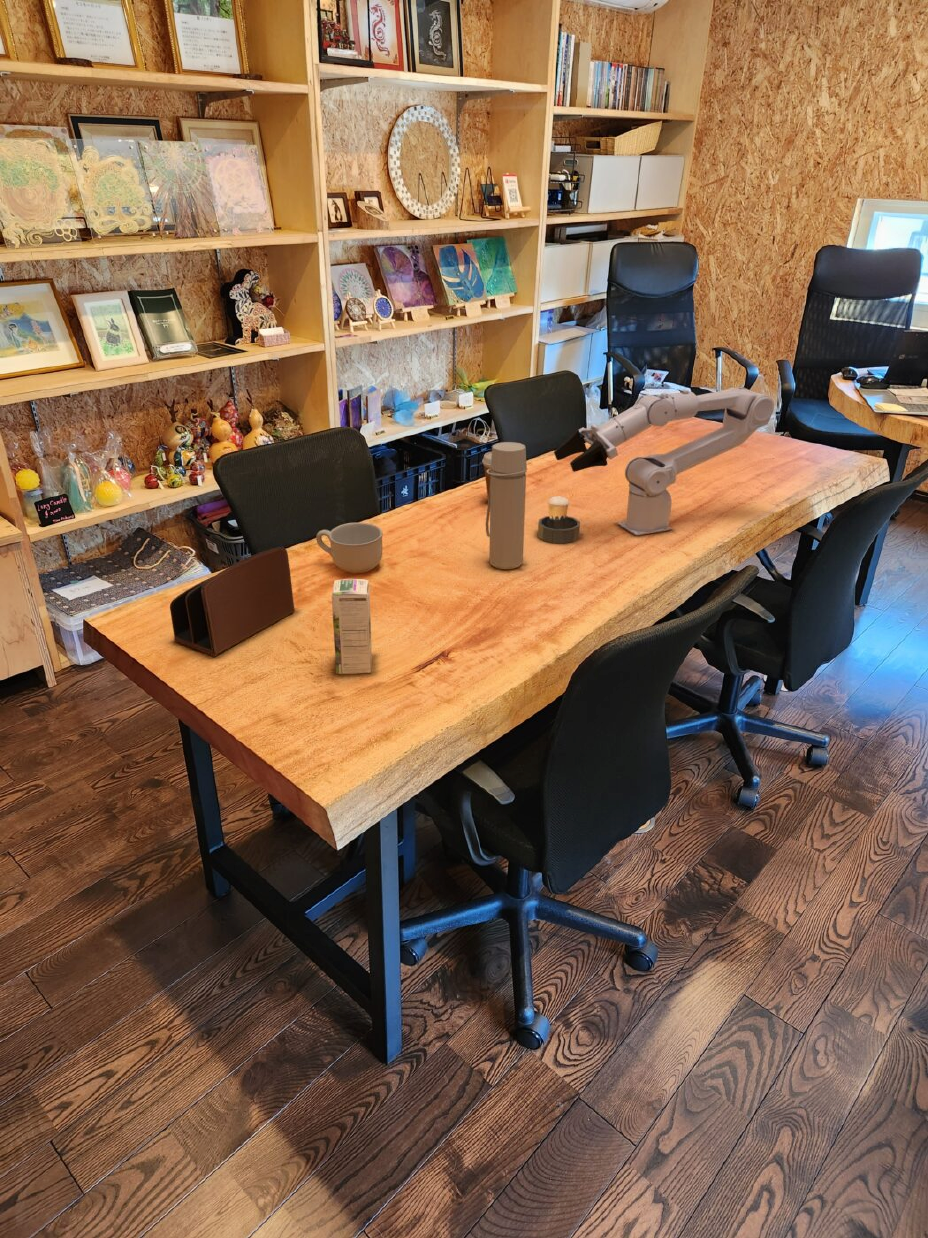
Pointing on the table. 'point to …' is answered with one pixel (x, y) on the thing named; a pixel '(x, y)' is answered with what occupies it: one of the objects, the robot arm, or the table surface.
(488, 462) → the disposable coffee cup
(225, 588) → the letter holder
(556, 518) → the milkshake
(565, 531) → the brown hollow ring
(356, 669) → the syrup box
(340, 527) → the teacup
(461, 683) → the table surface
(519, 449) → the water bottle
